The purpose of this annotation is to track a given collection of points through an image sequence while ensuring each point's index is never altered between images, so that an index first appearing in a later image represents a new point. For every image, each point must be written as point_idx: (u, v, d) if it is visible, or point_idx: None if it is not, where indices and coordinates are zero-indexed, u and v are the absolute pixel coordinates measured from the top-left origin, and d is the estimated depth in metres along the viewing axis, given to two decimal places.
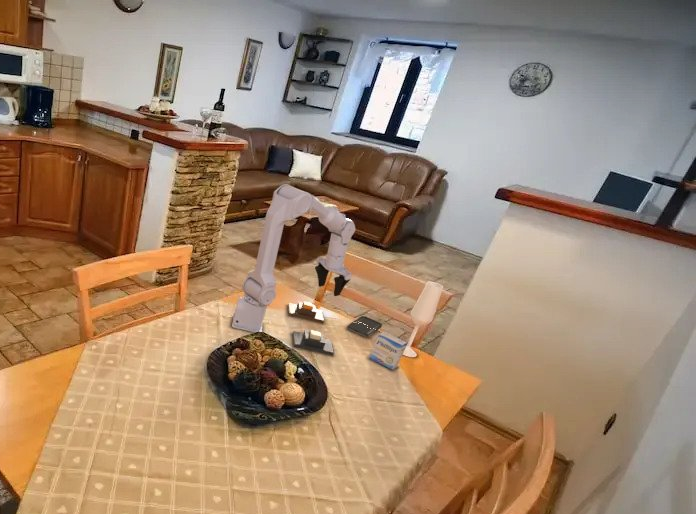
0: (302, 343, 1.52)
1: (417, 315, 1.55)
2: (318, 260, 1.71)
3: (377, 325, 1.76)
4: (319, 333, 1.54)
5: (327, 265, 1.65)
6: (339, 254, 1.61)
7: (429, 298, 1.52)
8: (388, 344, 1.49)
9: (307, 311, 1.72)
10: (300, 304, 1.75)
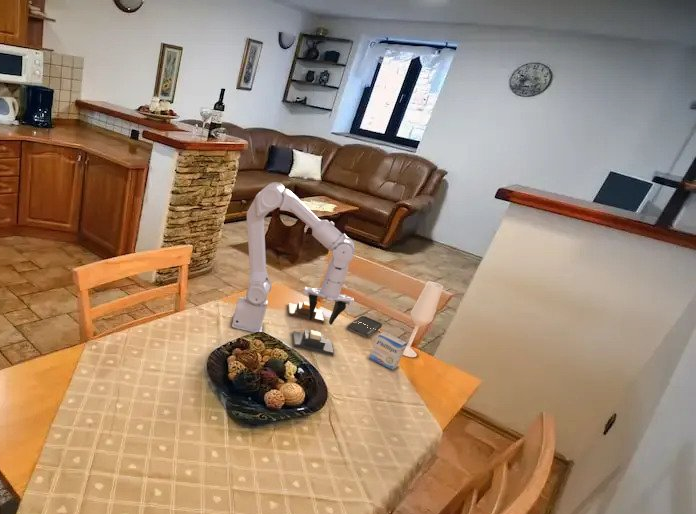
0: (302, 343, 1.52)
1: (417, 315, 1.55)
2: None
3: (377, 325, 1.76)
4: (319, 333, 1.54)
5: None
6: (329, 278, 1.43)
7: (429, 298, 1.52)
8: (388, 344, 1.49)
9: (307, 311, 1.72)
10: (300, 304, 1.75)
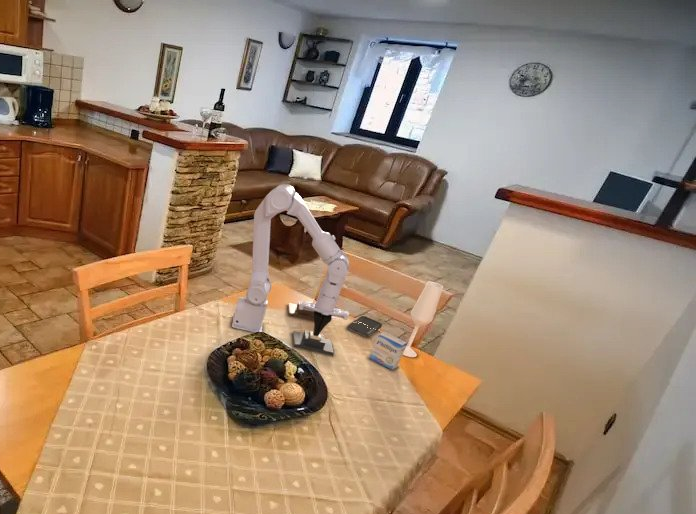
0: (302, 343, 1.52)
1: (417, 315, 1.55)
2: None
3: (377, 325, 1.76)
4: (319, 334, 1.54)
5: None
6: (324, 293, 1.45)
7: (429, 298, 1.52)
8: (388, 344, 1.49)
9: (307, 311, 1.72)
10: None
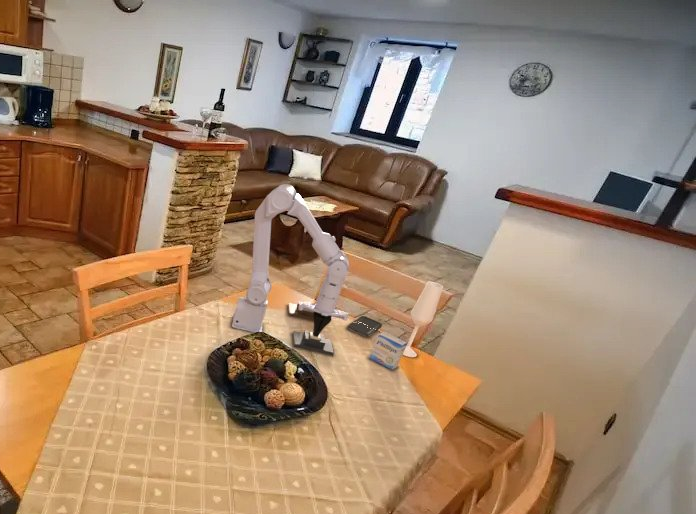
0: (302, 343, 1.52)
1: (417, 315, 1.55)
2: None
3: (377, 325, 1.76)
4: None
5: None
6: (324, 293, 1.45)
7: (429, 298, 1.52)
8: (388, 344, 1.49)
9: (307, 311, 1.72)
10: None
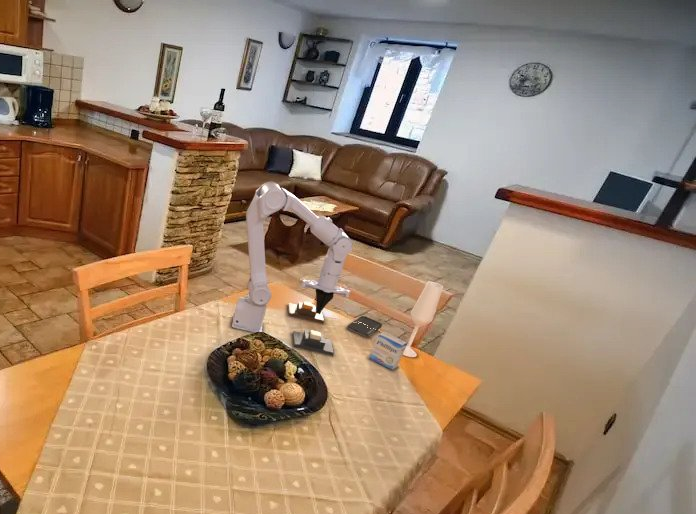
0: (302, 343, 1.52)
1: (417, 315, 1.55)
2: None
3: (377, 325, 1.76)
4: (319, 333, 1.54)
5: None
6: (329, 271, 1.48)
7: (429, 298, 1.52)
8: (388, 344, 1.49)
9: (307, 311, 1.72)
10: (300, 304, 1.75)
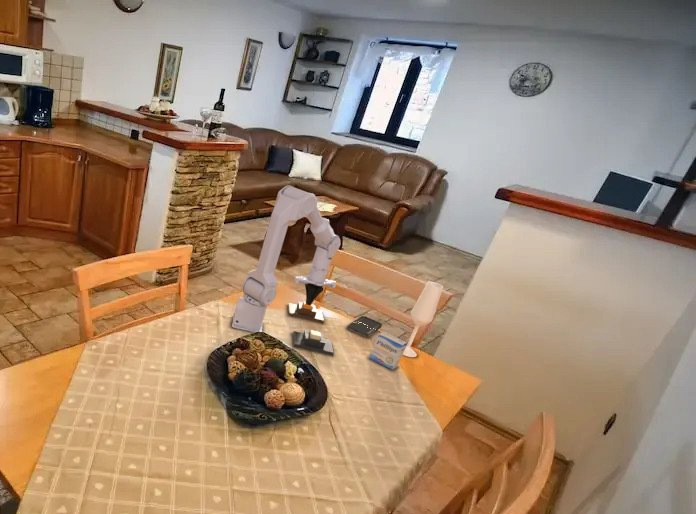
0: (302, 343, 1.52)
1: (417, 315, 1.55)
2: None
3: (377, 325, 1.76)
4: (319, 333, 1.54)
5: None
6: (323, 268, 1.65)
7: (429, 298, 1.52)
8: (388, 344, 1.49)
9: (307, 311, 1.72)
10: (300, 304, 1.75)
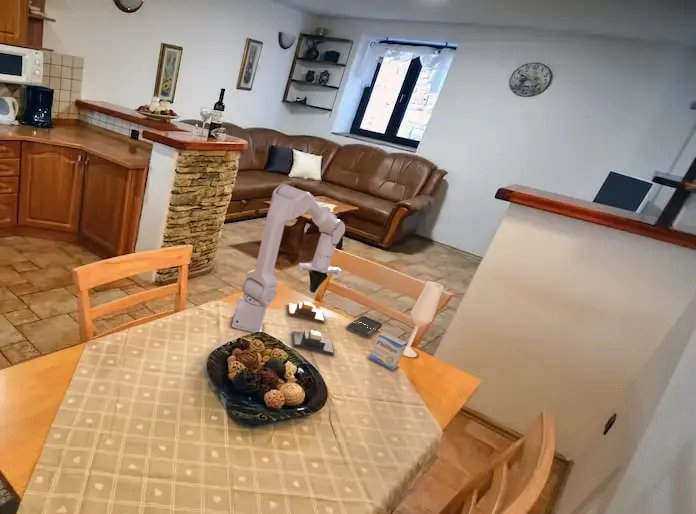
0: (302, 343, 1.52)
1: (417, 315, 1.55)
2: None
3: (377, 325, 1.76)
4: (319, 333, 1.54)
5: None
6: (328, 254, 1.63)
7: (429, 298, 1.52)
8: (388, 344, 1.49)
9: (307, 311, 1.72)
10: (300, 304, 1.75)
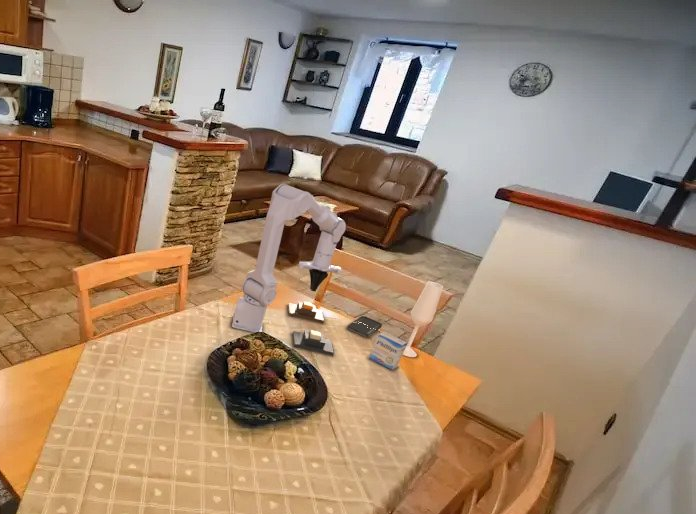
0: (302, 343, 1.52)
1: (417, 315, 1.55)
2: None
3: (377, 325, 1.76)
4: (319, 333, 1.54)
5: None
6: (328, 253, 1.63)
7: (429, 298, 1.52)
8: (388, 344, 1.49)
9: (307, 311, 1.72)
10: (300, 304, 1.75)
